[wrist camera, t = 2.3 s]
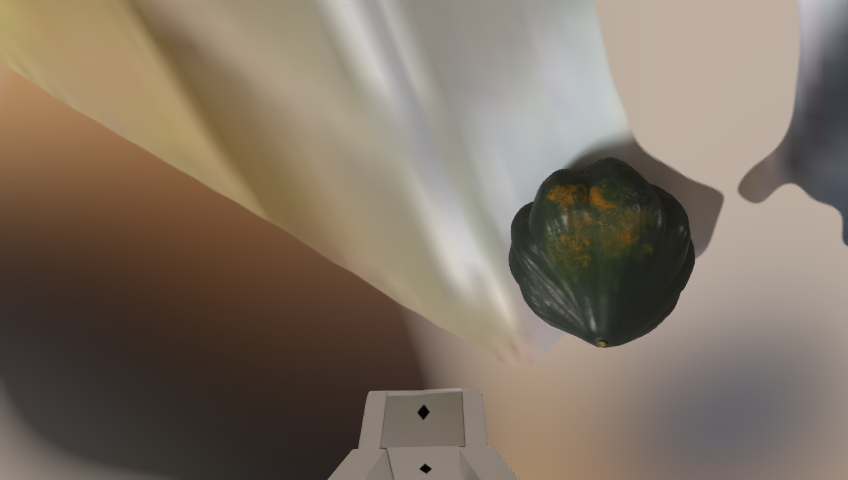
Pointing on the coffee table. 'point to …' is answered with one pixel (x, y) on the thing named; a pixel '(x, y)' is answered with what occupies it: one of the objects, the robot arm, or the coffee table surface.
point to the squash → (601, 253)
